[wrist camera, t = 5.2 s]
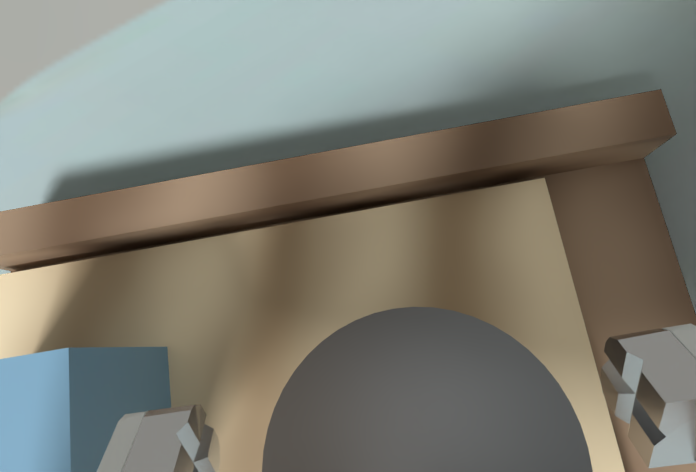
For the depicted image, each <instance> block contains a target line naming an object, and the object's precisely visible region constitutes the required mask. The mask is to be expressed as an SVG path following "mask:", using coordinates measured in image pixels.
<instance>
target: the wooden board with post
mask: <svg viewBox="0 0 696 472" xmlns="http://www.w3.org/2000/svg"><path fill="white" fill-rule="evenodd" d="M79 347H167V349H168V365H169V380H170V395H171V408H172V407H179V406H187V405H194V404H201V406H202V408H203V409H204V411H205V413H206V419H205V423H204V424H206V425H208V426H210V427H212V428H214V430H215V432H216V434H217V436H218V440H219V444H220V466H219V472H625V470H624V466H623V462H622V459H621V455H620V451H619V448H618V444H617V440H616V437H615V433H614V429H613V426H612V422H611V419H610V415H609V411H608V408H607V404H606V400H605V397H604V394H603V391H602V386H601V382H600V378H599V375H598V371H597V367H596V364H595V360H594V356H593V353H592V349H591V345H590V342H589V338H588V334H587V331H586V327H585V323H584V320H583V316H582V312H581V309H580V305H579V301H578V298H577V294H576V290H575V287H574V283H573V280H572V276H571V272H570V269H569V265H568V261H567V258H566V254H565V250H564V247H563V243H562V239H561V236H560V232H559V228H558V225H557V221H556V217H555V214H554V210H553V206H552V203H551V199H550V195H549V192H548V188H547V184H546V181H545V178H541V179H535V180H529V181H524V182H518V183H513V184H507V185H501V186H496V187H490V188H484V189H479V190H473V191H468V192H462V193H456V194H451V195H445V196H440V197H434V198H428V199H423V200H417V201H411V202H406V203H400V204H395V205H389V206H383V207H378V208H372V209H367V210H361V211H355V212H350V213H344V214H339V215H333V216H327V217H322V218H316V219H310V220H305V221H299V222H294V223H288V224H282V225H277V226H271V227H266V228H260V229H254V230H249V231H243V232H237V233H232V234H226V235H221V236H215V237H209V238H204V239H198V240H193V241H187V242H181V243H176V244H170V245H164V246H159V247H153V248H148V249H142V250H136V251H131V252H125V253H120V254H114V255H108V256H103V257H97V258H92V259H86V260H80V261H75V262H69V263H63V264H58V265H52V266H47V267H41V268H35V269H30V270H24V271H19V272H13V273H7V274H2V275H0V359H4V358H10V357H16V356H22V355H28V354H34V353H40V352H45V351H51V350H57V349H63V348H79Z"/></svg>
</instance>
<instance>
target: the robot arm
mask: <svg viewBox="0 0 696 472" xmlns="http://www.w3.org/2000/svg"><path fill="white" fill-rule="evenodd" d="M604 352H605V354H606V355H607V357H608V358H609V360H608V361H607V362H606V363H605V364H604V365H603V366H602V367H601V376H600V381H601V386H602V391H603V394H604V397H605V399H606V401H607V403H608V405H609V407H610V409H611V410H612V412H613V413H614V415H615V416H616V417H618V418H620V419H621V420H623V421H625V422H626V423H628V424H629V430H628V437H629V439H630V441H631V442H632V444H633V445H634V447H635V448H636V450H637V452H638V453H639V455H640V456H641V458H642V459H643V461H644V462H645V464H646V466H647V467H648V468H656V467H664V466H673V465H681V464H690V463H696V326H695V325H693V324H684V325H678V326H672V327H666V328H662V329H660V328H658V329H652V330H647V331H641V332H635V333H629V334H623V335H618V336H612V337H609V338H608V339H607V341H606V342H605V348H604ZM205 419H206V413H205V411H204V409H203V408H202V406H201V404H194V405H187V406H179V407H172V408H164V409H157V410H149V411H144V412H137V413H130V414H125V415H124V416H123V417H122V418H121V419H120V420H119V421H118V423H117V425H116V428H115V430H114V432H113V435H112V437H111V439H110V442H109V444H108V446H107V449H106V451H105V453H104V455H103V458H102V460H101V462H100V465H99V467H98V469H97V472H219V466H220V444H219V440H218V436H217V434H216V432H215V430H214V428H212V427H210V426H208V425H206V424H204V423H205Z"/></svg>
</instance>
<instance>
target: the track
mask: <svg viewBox="0 0 696 472" xmlns="http://www.w3.org/2000/svg"><path fill="white" fill-rule="evenodd" d="M676 134H677V133H676V131H675V128H674V125H673V122H672V119H671V116H670V114H669V111H668V108H667V105H666V102H665V99H664V97H663V94H662V91H661V89H660V90H654V91H649V92H644V93H638V94H633V95H627V96H622V97H617V98H611V99H606V100H600V101H595V102H590V103H584V104H579V105H573V106H568V107H563V108H557V109H552V110H546V111H541V112H536V113H530V114H525V115H519V116H514V117H509V118H503V119H498V120H492V121H487V122H482V123H476V124H471V125H465V126H460V127H455V128H449V129H444V130H438V131H433V132H428V133H422V134H417V135H411V136H406V137H401V138H395V139H390V140H384V141H379V142H374V143H368V144H363V145H357V146H352V147H347V148H341V149H336V150H330V151H325V152H320V153H314V154H309V155H303V156H298V157H293V158H287V159H282V160H276V161H271V162H266V163H260V164H255V165H249V166H244V167H239V168H233V169H228V170H222V171H217V172H212V173H206V174H201V175H195V176H190V177H185V178H179V179H174V180H168V181H163V182H158V183H152V184H147V185H141V186H136V187H131V188H125V189H120V190H114V191H109V192H104V193H98V194H93V195H87V196H82V197H77V198H71V199H66V200H60V201H55V202H50V203H44V204H39V205H33V206H28V207H23V208H17V209H12V210H6V211H1V212H0V269H4V270H9V271H11V273H13V272H19V271H24V270H30V269H35V268H41V267H47V266H52V265H58V264H63V263H69V262H75V261H80V260H86V259H92V258H97V257H103V256H108V255H114V254H120V253H125V252H131V251H136V250H142V249H148V248H153V247H159V246H164V245H170V244H176V243H181V242H187V241H193V240H198V239H204V238H209V237H215V236H221V235H226V234H232V233H237V232H243V231H249V230H254V229H260V228H266V227H271V226H277V225H282V224H288V223H294V222H299V221H305V220H310V219H316V218H322V217H327V216H333V215H339V214H344V213H350V212H355V211H361V210H367V209H372V208H378V207H383V206H389V205H395V204H400V203H406V202H411V201H417V200H423V199H428V198H434V197H440V196H445V195H451V194H456V193H462V192H468V191H473V190H479V189H484V188H490V187H496V186H501V185H507V184H513V183H518V182H524V181H529V180H535V179H541V178H545V181H546V184H547V188H548V192H549V195H550V199H551V203H552V206H553V210H554V214H555V217H556V221H557V225H558V228H559V232H560V236H561V239H562V243H563V247H564V250H565V254H566V258H567V261H568V265H569V269H570V272H571V276H572V280H573V283H574V287H575V290H576V294H577V298H578V301H579V305H580V309H581V312H582V316H583V320H584V323H585V327H586V331H587V334H588V338H589V342H590V345H591V349H592V353H593V356H594V360H595V364H596V367H597V371H598V375H599V378H600V376H601V367H602V366H603V365H604V364H605V363H606V362H607V361H608V360H609V358H608V357H607V355H606V354H605V352H604V348H605V342H606V341H607V339H608V338H609V337H612V336H618V335H623V334H629V333H635V332H641V331H647V330H652V329H658V328H660V329H662V328H666V327H672V326H678V325H684V324H693V325H695V326H696V314H695V311H694V308H693V305H692V302H691V299H690V296H689V293H688V290H687V287H686V284H685V281H684V278H683V275H682V272H681V269H680V266H679V263H678V260H677V257H676V254H675V251H674V248H673V245H672V242H671V238H670V235H669V232H668V229H667V226H666V223H665V220H664V217H663V214H662V211H661V208H660V205H659V202H658V199H657V196H656V193H655V190H654V187H653V184H652V181H651V178H650V175H649V172H648V169H647V166H646V163H645V160H644V158H645V157H646V156H647V155H649V154H650V153H651V152H653V151H654V150H655V149H657V148H658V147H659V146H661V145H662V144H664V143H665V142H666V141H668V140H669V139H670V138H672V137H673V136H674V135H676ZM600 382H601V381H600ZM605 400H606V399H605ZM606 404H607V408H608V411H609V415H610V419H611V422H612V426H613V429H614V433H615V437H616V440H617V444H618V448H619V451H620V455H621V459H622V462H623V466H624V470H625V472H696V463H690V464H681V465H673V466H664V467H656V468H648V467H647V466H646V464H645V462H644V461H643V459H642V458H641V456H640V455H639V453H638V452H637V450H636V448H635V447H634V445H633V444H632V442H631V441H630V439H629V437H628V430H629V424H628V423H626V422H625V421H623V420H621V419H620V418H618V417H616V416H615V415H614V413H613V412H612V410H611V409H610V407H609V405H608V403H607V401H606Z"/></svg>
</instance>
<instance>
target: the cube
mask: <svg viewBox="0 0 696 472" xmlns="http://www.w3.org/2000/svg"><path fill="white" fill-rule="evenodd" d="M164 408H171V395H170V380H169V365H168V349H167V347H79V348H63V349H57V350H51V351H45V352H40V353H34V354H28V355H22V356H16V357H10V358H4V359H0V472H97V469H98V467H99V465H100V462H101V460H102V458H103V455H104V453H105V451H106V449H107V446H108V444H109V442H110V439H111V437H112V435H113V432H114V430H115V428H116V425H117V423H118V421H119V420H120V419H121V418H122V417H123V416H124V415H125V414H130V413H137V412H144V411H149V410H157V409H164Z"/></svg>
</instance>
